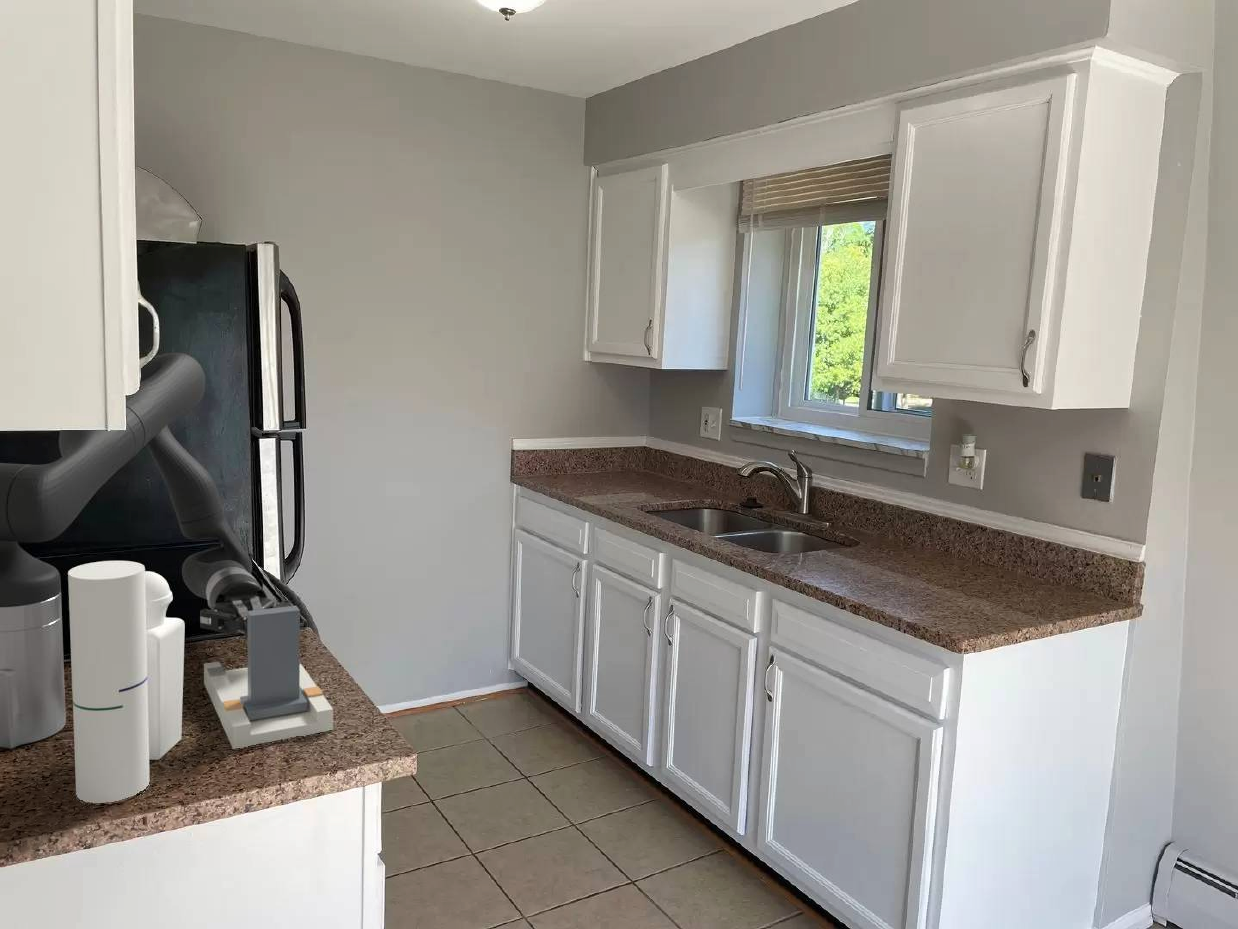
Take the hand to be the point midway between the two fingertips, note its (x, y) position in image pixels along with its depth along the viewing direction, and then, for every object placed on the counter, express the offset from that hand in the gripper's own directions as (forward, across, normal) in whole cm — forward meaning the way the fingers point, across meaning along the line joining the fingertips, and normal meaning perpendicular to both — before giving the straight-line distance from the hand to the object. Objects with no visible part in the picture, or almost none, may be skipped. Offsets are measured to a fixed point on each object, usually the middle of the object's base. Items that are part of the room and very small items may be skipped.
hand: (259, 633), depth 127 cm
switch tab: (+9, 0, +7) cm, 11 cm away
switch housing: (+4, 0, +9) cm, 10 cm away
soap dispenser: (+10, -15, +9) cm, 20 cm away
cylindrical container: (+19, -19, +9) cm, 28 cm away
